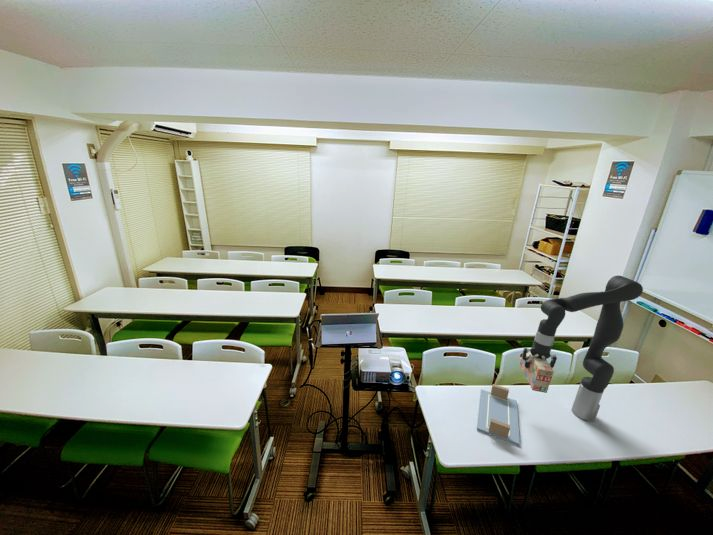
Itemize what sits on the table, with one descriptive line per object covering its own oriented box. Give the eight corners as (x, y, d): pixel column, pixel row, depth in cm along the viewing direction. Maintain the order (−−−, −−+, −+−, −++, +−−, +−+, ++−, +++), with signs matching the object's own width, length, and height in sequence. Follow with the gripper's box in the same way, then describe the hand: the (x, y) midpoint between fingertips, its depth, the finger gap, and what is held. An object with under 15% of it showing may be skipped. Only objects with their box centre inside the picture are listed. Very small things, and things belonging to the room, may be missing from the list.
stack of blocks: (519, 363, 156) (524, 344, 152) (532, 366, 154) (537, 346, 151) (532, 390, 136) (539, 368, 132) (547, 393, 134) (554, 371, 131)
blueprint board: (516, 402, 156) (519, 391, 154) (519, 445, 130) (522, 433, 128) (480, 390, 163) (483, 380, 161) (476, 429, 138) (479, 417, 135)
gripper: (559, 341, 138) (550, 370, 143) (526, 333, 144) (518, 361, 149) (562, 349, 132) (552, 379, 137) (527, 340, 138) (519, 369, 143)
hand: (534, 370), depth 143 cm, fingers closed on stack of blocks, 7 cm apart
